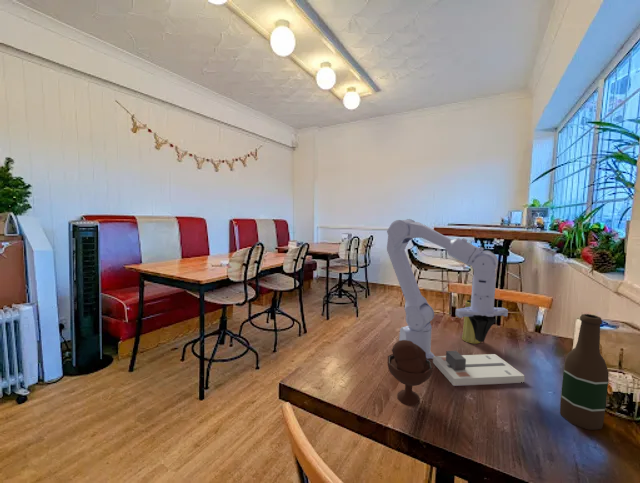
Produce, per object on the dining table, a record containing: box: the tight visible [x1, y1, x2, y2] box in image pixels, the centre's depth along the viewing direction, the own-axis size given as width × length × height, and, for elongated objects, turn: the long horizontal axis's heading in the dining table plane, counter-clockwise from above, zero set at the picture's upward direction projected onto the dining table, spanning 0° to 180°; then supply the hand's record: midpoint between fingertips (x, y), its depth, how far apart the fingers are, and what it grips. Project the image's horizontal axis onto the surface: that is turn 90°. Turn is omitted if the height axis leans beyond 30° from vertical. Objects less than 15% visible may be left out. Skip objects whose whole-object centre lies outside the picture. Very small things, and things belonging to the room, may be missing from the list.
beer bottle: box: [559, 313, 609, 431], centre depth 65 cm, size 8×8×24 cm
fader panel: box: [432, 353, 526, 387], centre depth 85 cm, size 20×12×2 cm, turn 95°
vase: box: [461, 299, 482, 345], centre depth 105 cm, size 6×6×14 cm
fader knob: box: [445, 350, 466, 370], centre depth 84 cm, size 3×5×3 cm, turn 5°
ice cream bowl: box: [386, 340, 434, 406], centre depth 73 cm, size 11×11×15 cm
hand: (479, 340), depth 85 cm, fingers closed
